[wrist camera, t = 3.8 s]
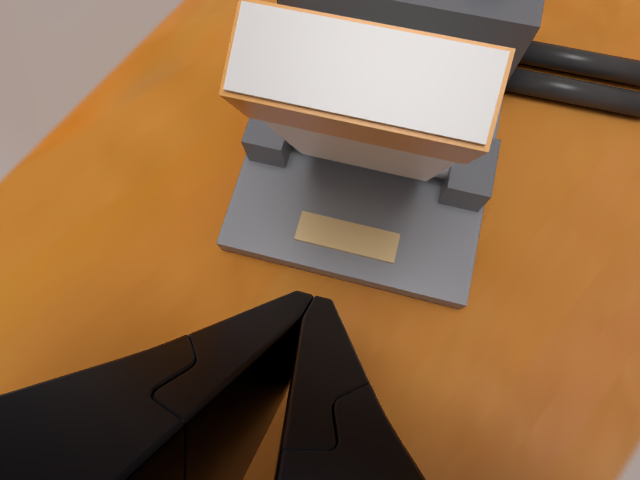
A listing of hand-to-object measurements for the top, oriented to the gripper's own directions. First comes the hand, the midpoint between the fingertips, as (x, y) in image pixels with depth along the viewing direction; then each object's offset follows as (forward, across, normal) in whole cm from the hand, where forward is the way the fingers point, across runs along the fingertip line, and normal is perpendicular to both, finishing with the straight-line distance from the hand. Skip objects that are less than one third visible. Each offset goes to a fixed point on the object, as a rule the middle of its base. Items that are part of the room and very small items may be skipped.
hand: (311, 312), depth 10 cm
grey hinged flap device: (+12, +3, +1) cm, 13 cm away
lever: (+9, 0, +1) cm, 9 cm away
